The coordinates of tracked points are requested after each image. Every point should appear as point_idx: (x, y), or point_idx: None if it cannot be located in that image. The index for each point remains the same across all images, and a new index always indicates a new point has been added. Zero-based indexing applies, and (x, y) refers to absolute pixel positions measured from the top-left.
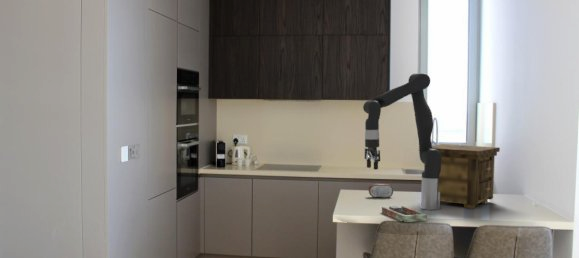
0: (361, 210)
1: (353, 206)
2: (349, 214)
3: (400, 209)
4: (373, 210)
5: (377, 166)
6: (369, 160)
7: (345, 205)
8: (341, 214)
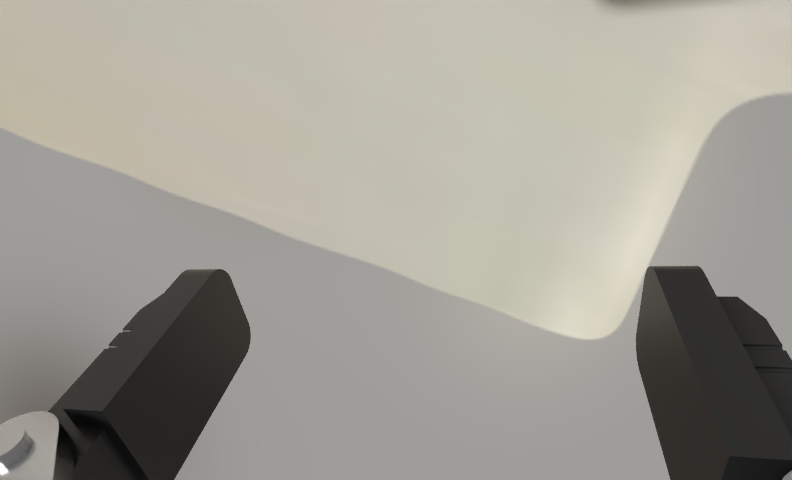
0: (421, 125)
1: (248, 131)
2: (560, 263)
3: None
4: (433, 14)
5: (781, 360)
6: (105, 456)
7: (212, 177)
8: (545, 309)
